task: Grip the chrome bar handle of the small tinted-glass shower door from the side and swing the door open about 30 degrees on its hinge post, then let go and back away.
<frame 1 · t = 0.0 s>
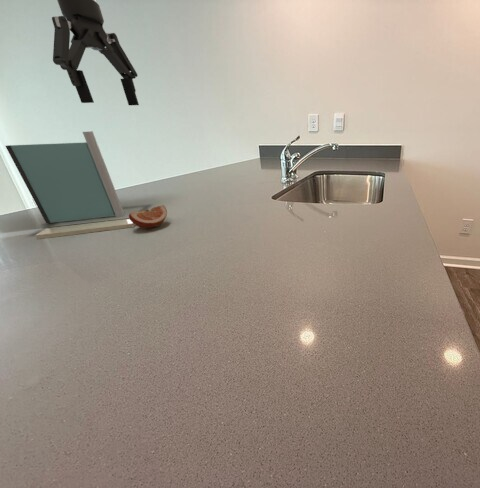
hand: (112, 104, 68), 29 cm above the counter, tool pointing down, fingers open, 13 cm apart
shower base: (121, 219, 73), on the counter
fruit slice: (153, 227, 67), on the counter
shower door: (74, 180, 69), point 11 cm above the counter, hinge at 0.0°
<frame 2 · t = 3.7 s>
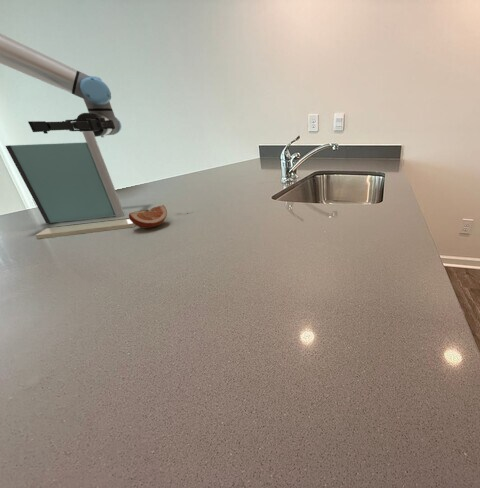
hand: (62, 125, 73), 24 cm above the counter, tool horizontal, fingers open, 13 cm apart
nothing on the counter moved.
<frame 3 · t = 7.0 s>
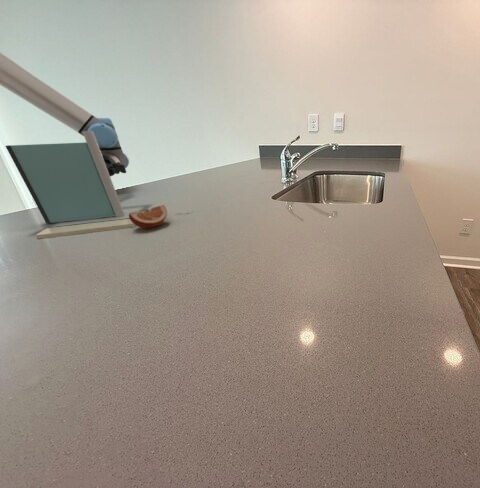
hand: (76, 175, 76), 11 cm above the counter, tool horizontal, fingers open, 13 cm apart
nothing on the counter moved.
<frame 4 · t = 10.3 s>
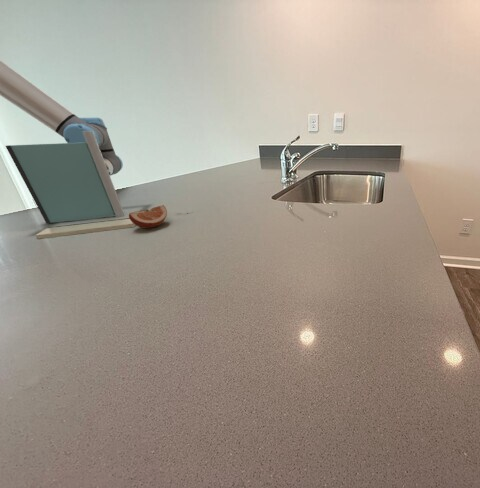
hand: (55, 183, 67), 11 cm above the counter, tool horizontal, fingers closed on shower door, 2 cm apart
shower door: (74, 180, 69), point 11 cm above the counter, hinge at 0.1°, touching gripper
everything else where it was.
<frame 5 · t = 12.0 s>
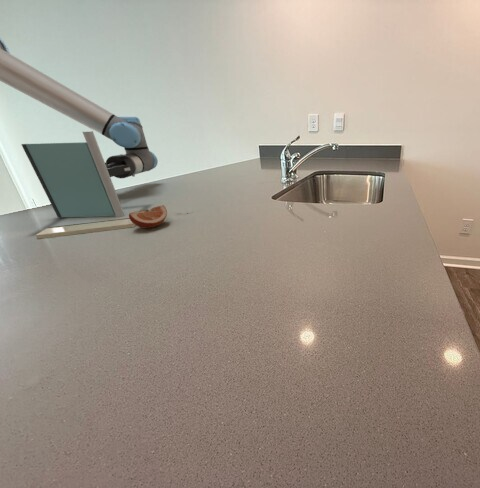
hand: (67, 179, 70), 11 cm above the counter, tool horizontal, fingers closed on shower door, 2 cm apart
shower door: (84, 178, 71), point 11 cm above the counter, hinge at 16.1°, touching gripper
everything else where it was.
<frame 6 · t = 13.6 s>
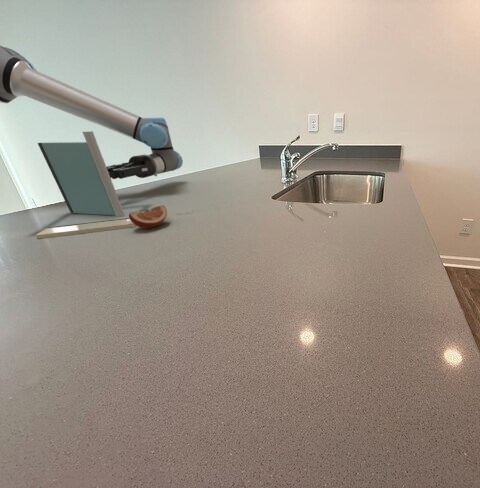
hand: (80, 179, 73), 11 cm above the counter, tool horizontal, fingers open, 4 cm apart
shower door: (94, 177, 73), point 11 cm above the counter, hinge at 29.7°
everything else where it was.
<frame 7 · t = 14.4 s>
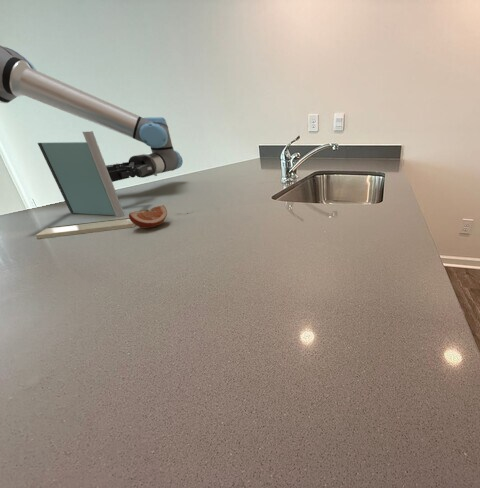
hand: (87, 177, 74), 11 cm above the counter, tool horizontal, fingers open, 13 cm apart
nothing on the counter moved.
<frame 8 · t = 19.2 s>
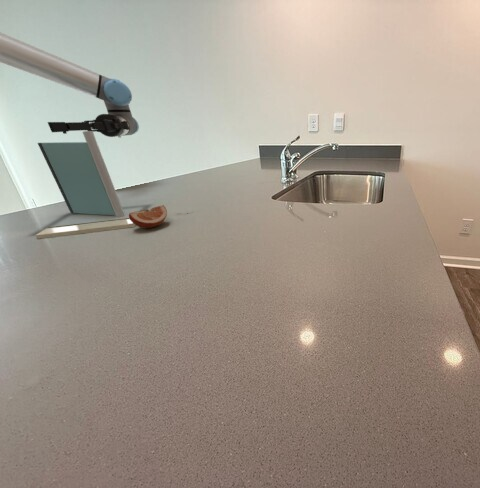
hand: (78, 126, 76), 24 cm above the counter, tool horizontal, fingers open, 13 cm apart
nothing on the counter moved.
at the end: shower door at +30° (first picture: +0°); the gripper is holding nothing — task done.
